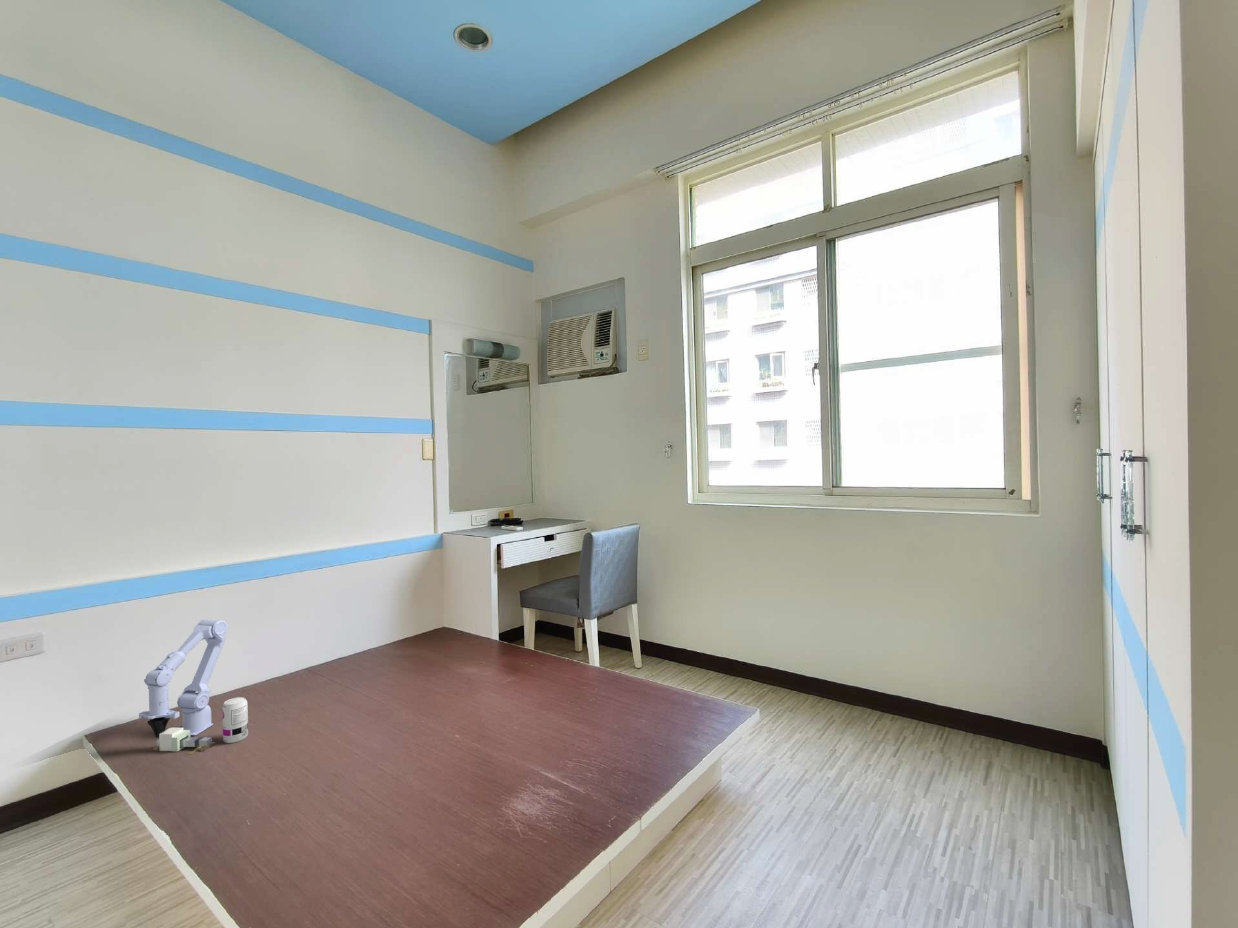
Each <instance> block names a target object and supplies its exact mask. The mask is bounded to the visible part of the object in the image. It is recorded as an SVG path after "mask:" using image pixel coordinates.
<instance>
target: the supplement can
mask: <svg viewBox="0 0 1238 928" xmlns="http://www.w3.org/2000/svg"><path fill="white" fill-rule="evenodd" d="M221 709H222V710H221V712H222V715H221V717H222V741H223V742H225V744H233V743H237V742H240V741H243V740H244V739H246V738H247V736H249V715H248V714H249V712H248V709H249V708H248V700H247V699H246V697H244V696H237V697H233V698H230V699H228V700H226V701H224V703H223V705H222V708H221Z"/></svg>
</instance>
